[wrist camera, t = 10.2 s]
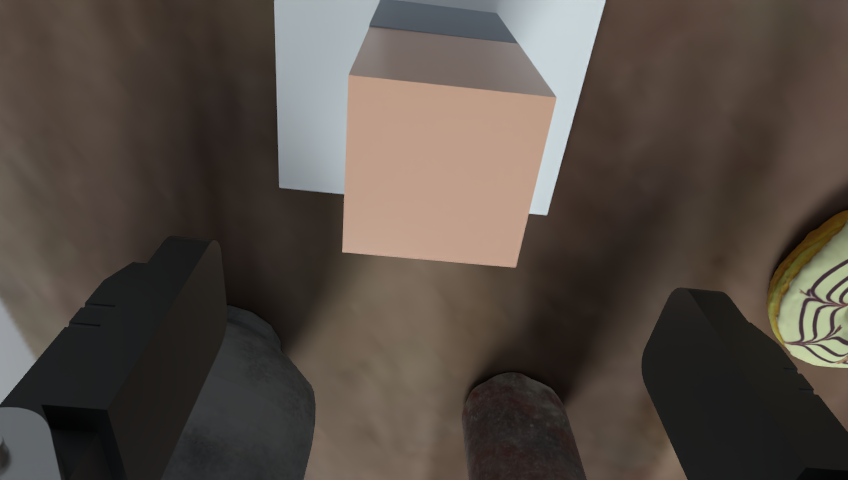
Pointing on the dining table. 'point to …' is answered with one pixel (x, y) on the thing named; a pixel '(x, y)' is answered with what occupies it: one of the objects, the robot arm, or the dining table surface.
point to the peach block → (442, 147)
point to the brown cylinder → (518, 432)
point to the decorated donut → (814, 296)
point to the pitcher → (247, 411)
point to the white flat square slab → (337, 50)
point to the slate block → (440, 20)
